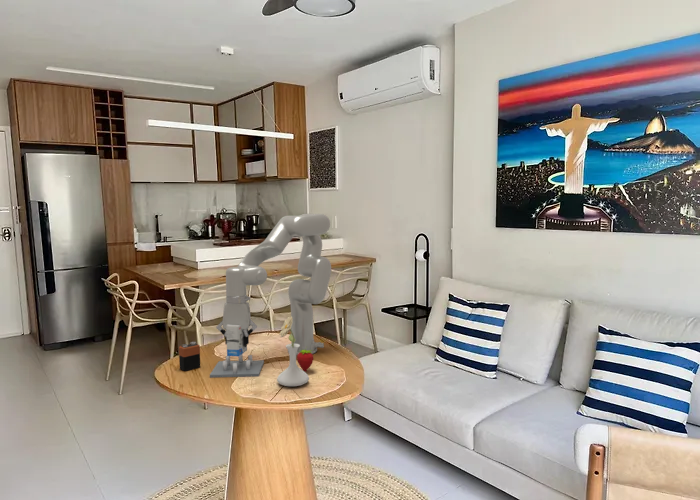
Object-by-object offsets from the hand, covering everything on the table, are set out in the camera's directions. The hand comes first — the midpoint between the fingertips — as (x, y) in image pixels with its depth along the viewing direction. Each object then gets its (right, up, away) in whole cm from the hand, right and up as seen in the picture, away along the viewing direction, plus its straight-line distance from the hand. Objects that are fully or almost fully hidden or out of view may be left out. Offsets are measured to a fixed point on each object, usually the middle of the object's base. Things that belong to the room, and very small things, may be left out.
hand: (237, 345), depth 185 cm
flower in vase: (+23, -11, -15) cm, 29 cm away
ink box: (0, -3, 0) cm, 3 cm away
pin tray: (0, -9, +1) cm, 10 cm away
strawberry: (+26, -10, -1) cm, 28 cm away
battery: (-19, -10, +3) cm, 21 cm away
